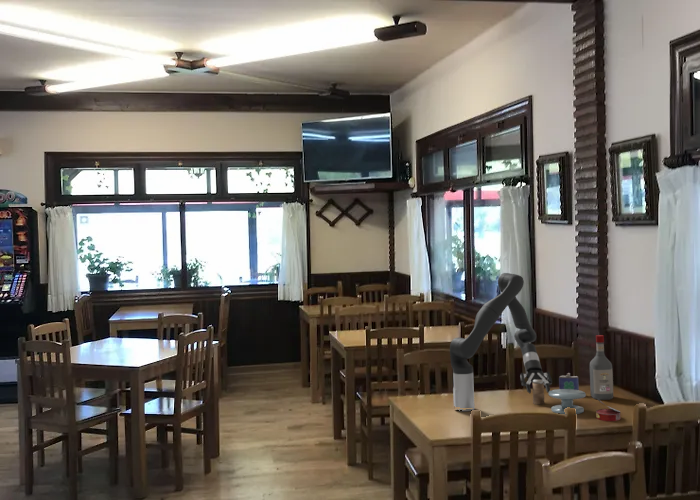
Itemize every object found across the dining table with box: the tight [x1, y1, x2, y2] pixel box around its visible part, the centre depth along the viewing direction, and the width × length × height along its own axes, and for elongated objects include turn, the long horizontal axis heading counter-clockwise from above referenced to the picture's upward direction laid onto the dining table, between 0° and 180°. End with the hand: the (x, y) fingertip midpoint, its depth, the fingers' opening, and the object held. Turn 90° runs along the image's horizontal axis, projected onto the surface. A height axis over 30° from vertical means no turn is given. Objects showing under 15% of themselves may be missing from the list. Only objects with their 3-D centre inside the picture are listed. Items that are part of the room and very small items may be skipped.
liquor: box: [589, 334, 614, 401], centre depth 336 cm, size 9×9×30 cm
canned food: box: [595, 399, 621, 422], centre depth 300 cm, size 11×10×10 cm
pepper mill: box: [531, 379, 546, 406], centre depth 330 cm, size 5×5×11 cm
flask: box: [558, 372, 580, 390], centre depth 345 cm, size 9×3×11 cm, turn 78°
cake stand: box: [548, 388, 586, 415], centre depth 315 cm, size 16×16×8 cm
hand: (539, 392), depth 329 cm, fingers open, 8 cm apart
